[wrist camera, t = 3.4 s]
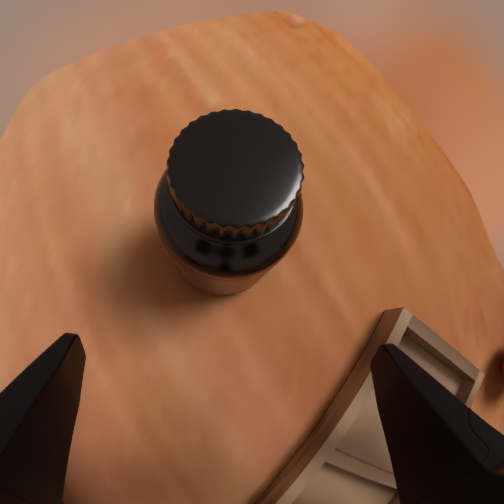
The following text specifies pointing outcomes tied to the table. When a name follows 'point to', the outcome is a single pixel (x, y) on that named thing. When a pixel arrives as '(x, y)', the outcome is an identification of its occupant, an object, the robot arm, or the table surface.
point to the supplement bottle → (230, 200)
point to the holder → (367, 423)
